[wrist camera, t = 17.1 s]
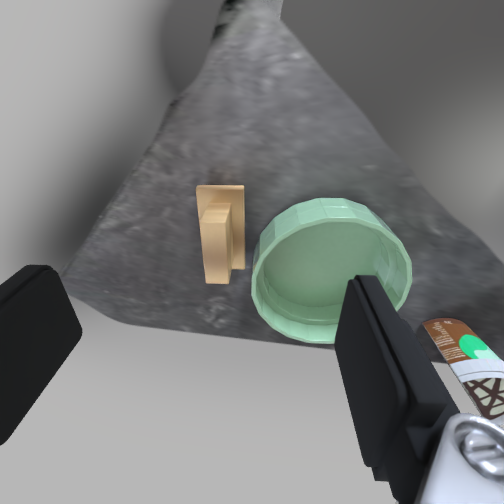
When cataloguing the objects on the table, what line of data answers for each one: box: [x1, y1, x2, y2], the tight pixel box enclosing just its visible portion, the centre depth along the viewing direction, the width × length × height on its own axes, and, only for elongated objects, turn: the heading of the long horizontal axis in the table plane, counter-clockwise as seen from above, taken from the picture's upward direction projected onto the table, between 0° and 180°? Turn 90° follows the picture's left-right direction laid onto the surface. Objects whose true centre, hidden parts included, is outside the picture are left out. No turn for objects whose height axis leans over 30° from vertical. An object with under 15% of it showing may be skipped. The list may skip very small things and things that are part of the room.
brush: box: [196, 185, 246, 284], centre depth 31 cm, size 10×5×8 cm, turn 0°
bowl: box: [252, 198, 412, 344], centre depth 33 cm, size 17×17×6 cm
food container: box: [422, 318, 504, 426], centre depth 37 cm, size 12×6×10 cm, turn 37°
